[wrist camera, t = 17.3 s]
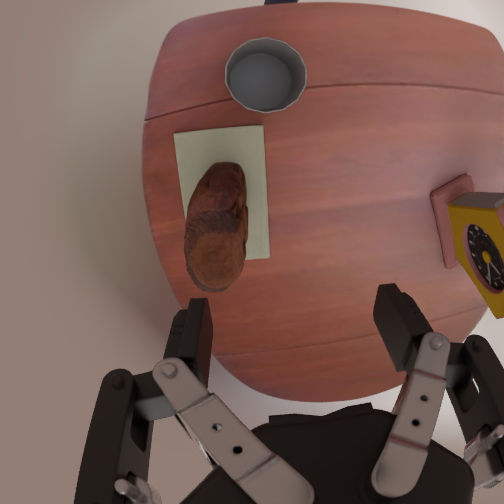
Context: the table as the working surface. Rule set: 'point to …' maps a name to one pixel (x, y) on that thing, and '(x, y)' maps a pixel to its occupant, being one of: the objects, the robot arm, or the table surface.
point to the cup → (265, 75)
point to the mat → (229, 150)
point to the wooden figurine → (217, 227)
